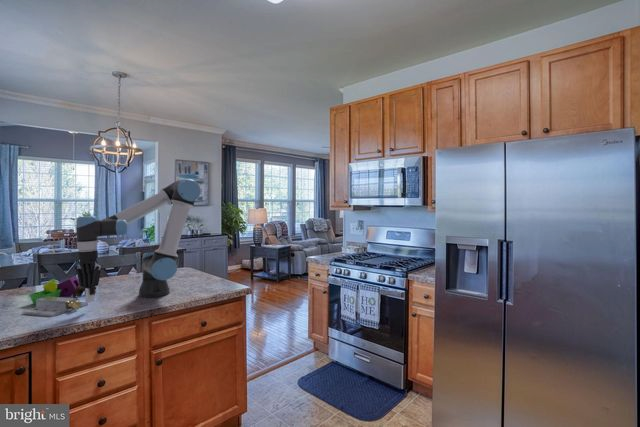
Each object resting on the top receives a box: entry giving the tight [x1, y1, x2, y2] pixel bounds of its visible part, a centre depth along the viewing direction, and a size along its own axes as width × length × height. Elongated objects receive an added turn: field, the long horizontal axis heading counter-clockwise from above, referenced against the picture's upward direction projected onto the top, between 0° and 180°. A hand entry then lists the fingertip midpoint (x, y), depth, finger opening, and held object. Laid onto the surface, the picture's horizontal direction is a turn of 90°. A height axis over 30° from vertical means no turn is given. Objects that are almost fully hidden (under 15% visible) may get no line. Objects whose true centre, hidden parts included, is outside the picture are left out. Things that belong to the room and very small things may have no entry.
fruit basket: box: [29, 278, 62, 305], centre depth 164 cm, size 11×9×11 cm
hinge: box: [21, 296, 89, 318], centre depth 152 cm, size 16×18×5 cm
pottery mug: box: [72, 285, 98, 299], centre depth 174 cm, size 12×10×8 cm
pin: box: [68, 300, 82, 311], centre depth 152 cm, size 18×4×4 cm, turn 80°
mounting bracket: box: [57, 275, 80, 298], centre depth 176 cm, size 10×8×18 cm
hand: (89, 301), depth 150 cm, fingers closed
